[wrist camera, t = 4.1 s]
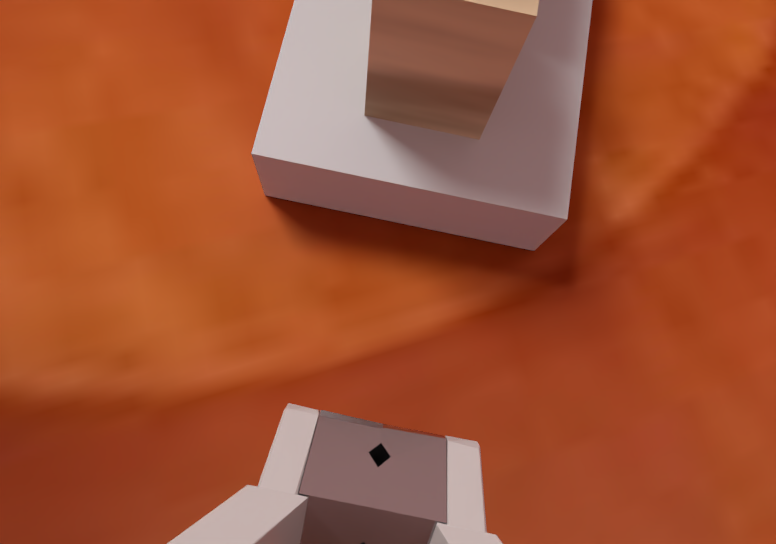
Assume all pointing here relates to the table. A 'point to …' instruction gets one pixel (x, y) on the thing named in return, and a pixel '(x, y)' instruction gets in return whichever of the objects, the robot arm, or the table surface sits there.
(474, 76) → the oak block
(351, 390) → the table surface
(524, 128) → the white box cover
